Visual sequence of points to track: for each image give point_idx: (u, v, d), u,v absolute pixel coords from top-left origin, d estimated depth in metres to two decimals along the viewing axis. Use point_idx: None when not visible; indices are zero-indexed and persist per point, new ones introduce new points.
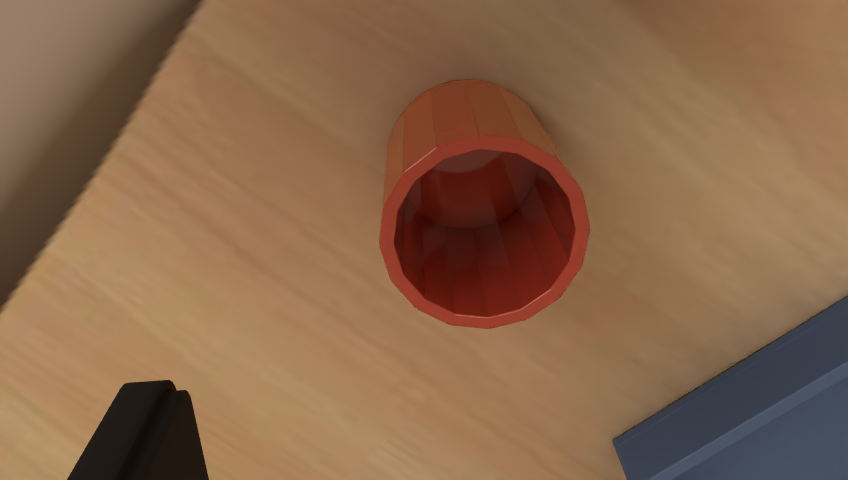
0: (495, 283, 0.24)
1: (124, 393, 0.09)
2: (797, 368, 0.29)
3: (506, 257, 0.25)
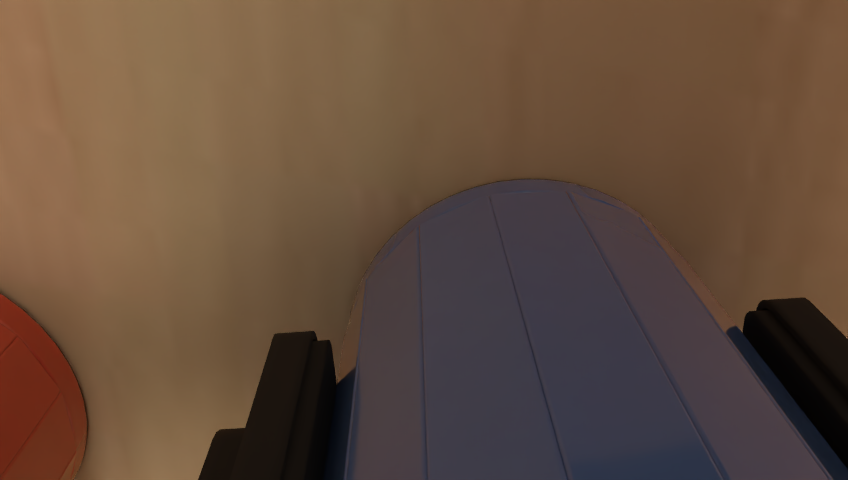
0: None
1: (277, 341, 0.10)
2: None
3: None
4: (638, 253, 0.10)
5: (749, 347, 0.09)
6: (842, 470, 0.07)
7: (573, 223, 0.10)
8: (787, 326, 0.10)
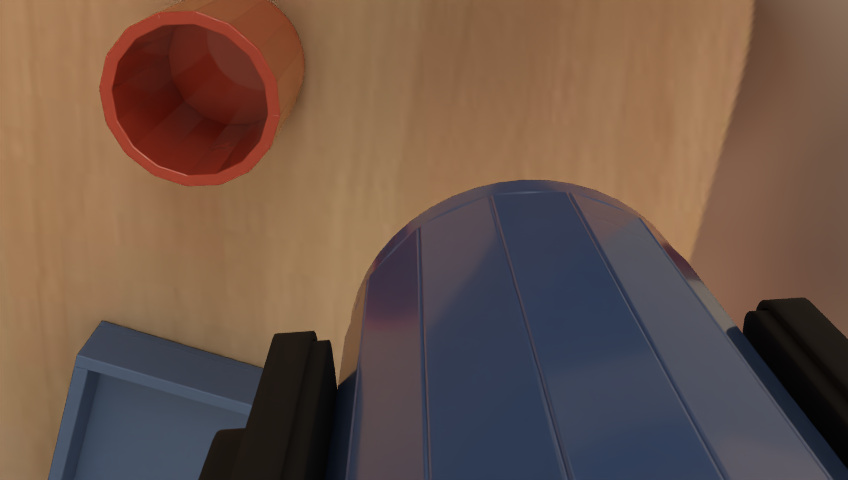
0: (160, 138, 0.27)
1: (278, 341, 0.10)
2: (255, 392, 0.35)
3: (185, 136, 0.29)
4: (638, 254, 0.10)
5: (749, 347, 0.09)
6: (842, 470, 0.07)
7: (574, 224, 0.10)
8: (787, 326, 0.10)
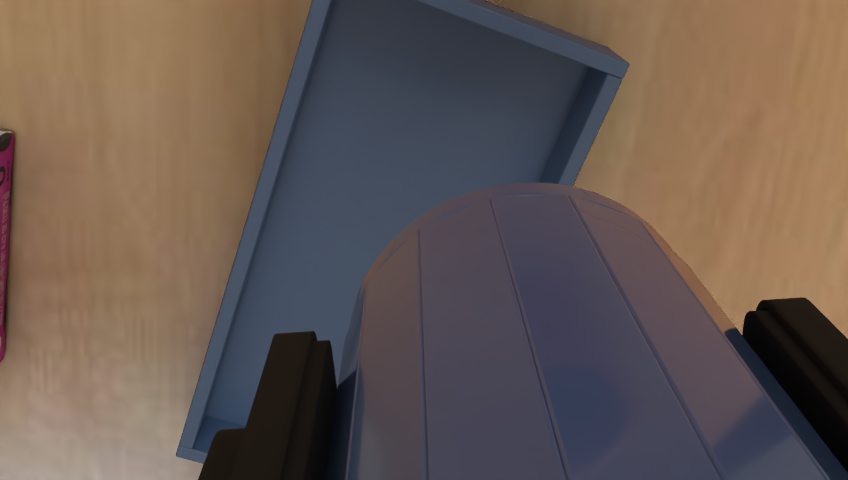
0: None
1: (277, 341, 0.10)
2: (532, 23, 0.28)
3: None
4: (639, 258, 0.10)
5: (750, 352, 0.09)
6: (844, 476, 0.07)
7: (574, 227, 0.10)
8: (787, 326, 0.10)
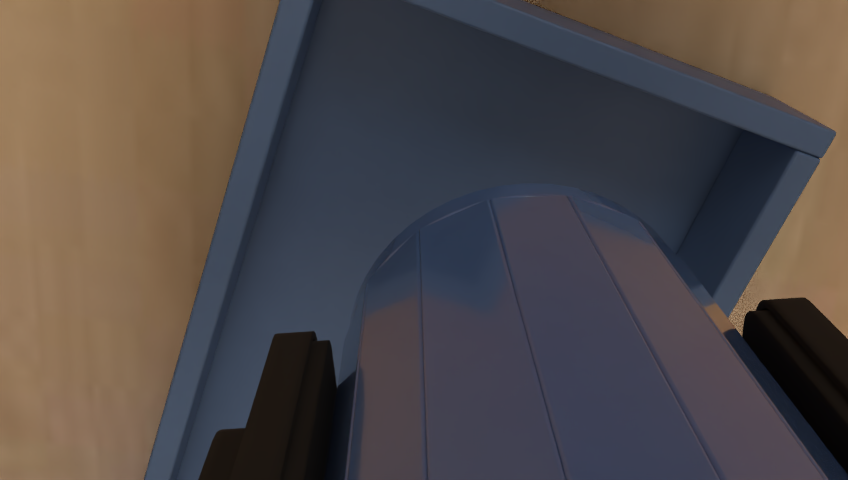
0: None
1: (277, 341, 0.10)
2: (661, 60, 0.16)
3: None
4: (639, 258, 0.10)
5: (750, 353, 0.09)
6: (843, 477, 0.07)
7: (573, 228, 0.10)
8: (787, 326, 0.10)
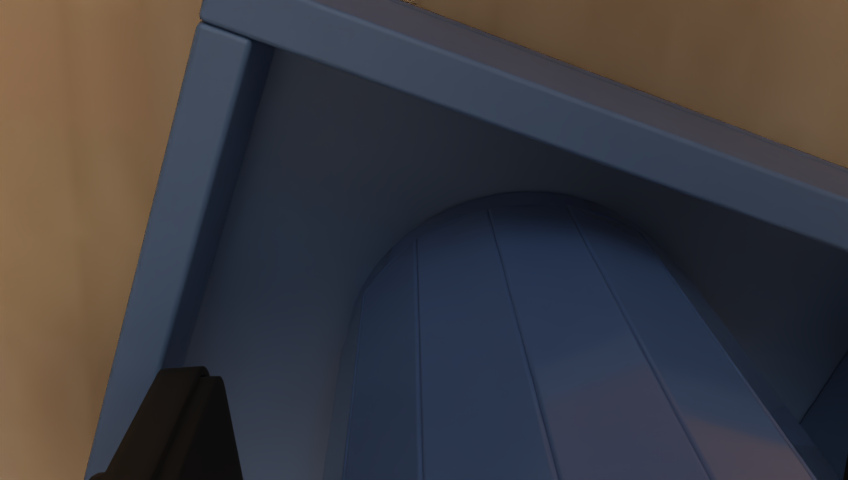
0: None
1: (161, 378, 0.10)
2: (813, 173, 0.10)
3: None
4: (638, 269, 0.10)
5: (750, 365, 0.09)
6: None
7: (572, 238, 0.10)
8: None
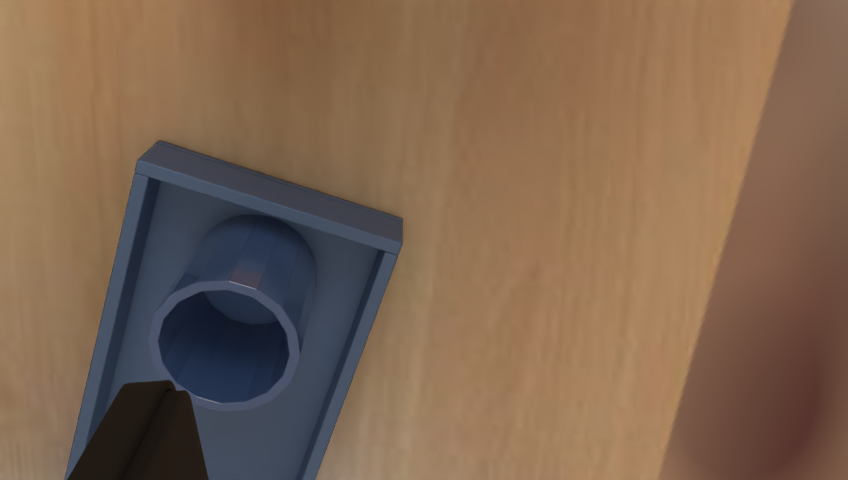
0: None
1: (124, 393, 0.09)
2: (322, 208, 0.34)
3: None
4: (264, 237, 0.33)
5: (288, 262, 0.32)
6: (279, 284, 0.30)
7: (249, 228, 0.33)
8: None
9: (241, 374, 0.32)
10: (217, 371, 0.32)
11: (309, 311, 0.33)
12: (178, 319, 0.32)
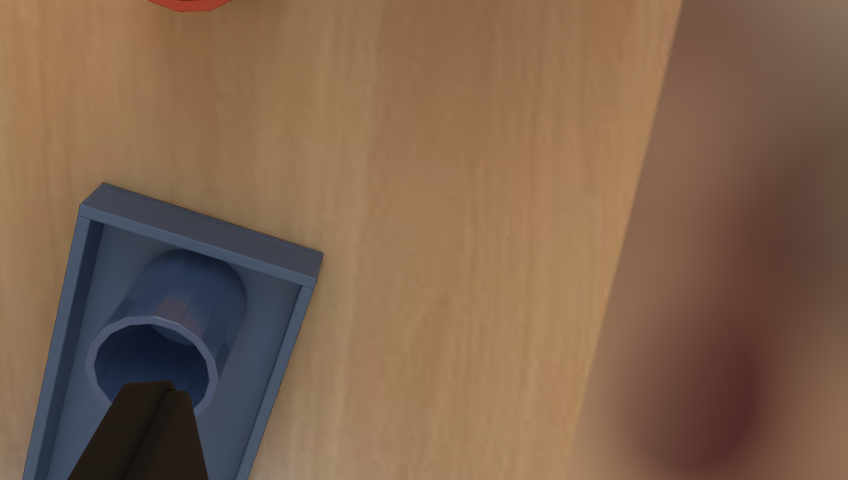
0: None
1: (124, 393, 0.09)
2: (246, 246, 0.38)
3: None
4: (194, 272, 0.37)
5: (214, 295, 0.37)
6: (202, 317, 0.35)
7: (182, 263, 0.38)
8: None
9: None
10: None
11: (233, 338, 0.37)
12: (116, 344, 0.36)
